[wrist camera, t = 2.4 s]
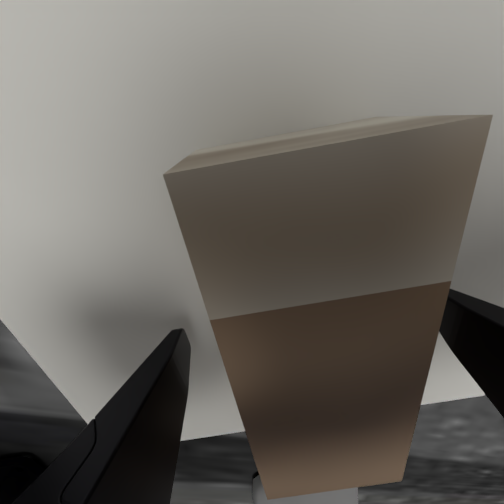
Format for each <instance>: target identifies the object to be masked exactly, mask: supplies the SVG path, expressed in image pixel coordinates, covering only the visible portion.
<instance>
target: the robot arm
mask: <svg viewBox="0 0 504 504" xmlns="http://www.w3.org/2000/svg"><path fill="white" fill-rule="evenodd" d="M439 332H440V334H441V335H442V337H443V339H444V340H445V342H446V343H447V345H448V346H449V348H450V349H451V351H452V352H453V353H454V355H455V356H456V357H457V359H458V360H459V361H460V363H461V364H462V365H463V366H464V368H465V369H466V370H467V372H468V373H469V374H470V375H471V377H472V378H473V379H474V380H475V382H476V383H477V384H478V386H479V387H480V388H481V389H482V391H483V392H484V393H485V395H486V396H487V397H488V398H489V400H490V401H491V402H492V403H493V405H494V406H495V407H496V409H497V410H498V411H499V412H500V414H501V415H502V416H503V417H504V308H503V307H500V306H497V305H494V304H492V303H489V302H486V301H483V300H481V299H478V298H475V297H472V296H470V295H467V294H464V293H461V292H459V291H456V290H453V289H449V293H448V297H447V301H446V305H445V309H444V313H443V317H442V321H441V325H440V329H439ZM190 358H191V345H190V342H189V339H188V337H187V334H186V332H185V330H184V329H183V328H179V329H173V330H171V331H170V332H169V333H168V335H167V336H166V337H165V338H164V339H163V340H162V341H161V343H160V344H159V345H158V346H157V347H156V348H155V349H154V350H153V352H152V353H151V354H150V355H149V356H148V357H147V358H146V359H145V361H144V362H143V363H142V364H141V365H140V366H139V367H138V368H137V370H136V371H135V372H134V373H133V374H132V375H131V376H130V377H129V379H128V380H127V381H126V382H125V383H124V384H123V385H122V386H121V388H120V389H119V390H118V391H117V392H116V393H115V394H114V395H113V397H112V398H111V399H110V400H109V401H108V402H107V403H106V405H105V406H104V407H103V408H102V409H101V410H100V411H99V412H98V414H97V415H96V416H95V419H92V420H91V421H90V422H89V424H88V425H87V426H86V427H85V428H84V429H83V430H82V431H81V433H80V434H79V435H78V436H77V437H76V438H75V439H74V440H73V441H72V442H71V443H70V445H69V446H68V447H67V448H66V449H65V450H64V451H63V452H62V453H61V454H60V455H59V456H58V457H57V458H56V459H55V460H54V461H53V462H52V463H51V464H50V465H49V466H48V467H47V468H46V470H44V469H43V468H42V467H41V466H40V465H38V464H37V463H36V462H35V461H34V460H33V459H31V458H28V457H24V456H21V457H13V458H6V459H0V504H170V499H171V493H172V487H173V481H174V475H175V469H176V463H177V458H178V452H179V446H180V440H181V434H182V428H183V422H184V416H185V410H186V404H187V398H188V390H189V375H190Z"/></svg>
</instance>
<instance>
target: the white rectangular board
mask: <svg viewBox="0 0 504 504" xmlns="http://www.w3.org/2000/svg"><path fill="white" fill-rule="evenodd" d="M444 115H493V117H492V121H491V125H490V129H489V133H488V137H487V141H486V145H485V149H484V153H483V157H482V161H481V165H480V169H479V173H478V177H477V181H476V185H475V189H474V193H473V197H472V201H471V205H470V209H469V213H468V217H467V221H466V225H465V229H464V233H463V237H462V241H461V245H460V249H459V253H458V257H457V261H456V265H455V269H454V273H453V277H452V281H451V285H450V289H453V290H456V291H459V292H461V293H464V294H467V295H470V296H472V297H475V298H478V299H481V300H483V301H486V302H489V303H492V304H494V305H497V306H500V307H503V308H504V0H0V319H1V321H2V322H3V323H4V324H5V325H6V327H7V328H8V329H9V330H10V331H11V333H12V334H13V335H14V336H15V337H16V339H17V340H18V341H19V342H20V343H21V345H22V346H23V347H24V348H25V349H26V351H27V352H28V353H29V354H30V355H31V357H32V358H33V359H34V360H35V361H36V363H37V364H38V365H39V366H40V367H41V369H42V370H43V371H44V372H45V373H46V375H47V376H48V377H49V378H50V379H51V381H52V382H53V383H54V384H55V385H56V387H57V388H58V389H59V390H60V391H61V393H62V394H63V395H64V396H65V397H66V399H67V400H68V401H69V402H70V403H71V405H72V406H73V407H74V408H75V409H76V411H77V412H78V413H79V414H80V415H81V417H82V418H83V419H84V420H85V421H86V423H87V424H89V422H90V421H91V420H92V419H95V416H96V415H97V414H98V412H99V411H100V410H101V409H102V408H103V407H104V406H105V405H106V403H107V402H108V401H109V400H110V399H111V398H112V397H113V395H114V394H115V393H116V392H117V391H118V390H119V389H120V388H121V386H122V385H123V384H124V383H125V382H126V381H127V380H128V379H129V377H130V376H131V375H132V374H133V373H134V372H135V371H136V370H137V368H138V367H139V366H140V365H141V364H142V363H143V362H144V361H145V359H146V358H147V357H148V356H149V355H150V354H151V353H152V352H153V350H154V349H155V348H156V347H157V346H158V345H159V344H160V343H161V341H162V340H163V339H164V338H165V337H166V336H167V335H168V333H169V332H170V331H171V330H173V329H179V328H183V329H184V330H185V332H186V334H187V337H188V339H189V342H190V345H191V358H190V375H189V390H188V398H187V404H186V410H185V416H184V422H183V428H182V434H181V440H180V441H183V440H190V439H197V438H203V437H210V436H217V435H224V434H230V433H237V432H244V431H245V429H244V426H243V423H242V419H241V416H240V413H239V410H238V407H237V404H236V401H235V398H234V395H233V391H232V388H231V385H230V382H229V379H228V376H227V373H226V370H225V367H224V364H223V360H222V357H221V354H220V351H219V348H218V345H217V342H216V339H215V336H214V332H213V329H212V326H211V323H210V320H209V317H208V314H207V311H206V308H205V304H204V301H203V298H202V295H201V292H200V289H199V286H198V283H197V280H196V276H195V273H194V270H193V267H192V264H191V261H190V258H189V255H188V252H187V248H186V245H185V242H184V239H183V236H182V233H181V230H180V227H179V224H178V220H177V217H176V214H175V211H174V208H173V205H172V202H171V199H170V196H169V192H168V189H167V186H166V183H165V180H164V177H163V174H164V173H165V172H167V171H168V170H169V169H171V168H172V167H173V166H175V165H176V164H177V163H179V162H180V161H181V160H183V159H184V158H186V157H187V156H188V155H190V154H191V153H192V152H194V151H195V150H198V149H204V148H209V147H215V146H220V145H226V144H231V143H237V142H242V141H247V140H253V139H258V138H264V137H269V136H275V135H280V134H286V133H291V132H297V131H302V130H307V129H313V128H318V127H324V126H329V125H335V124H340V123H346V122H351V121H357V120H362V119H367V118H373V117H390V116H444ZM484 395H485V393H484V392H483V391H482V389H481V388H480V387H479V386H478V384H477V383H476V382H475V380H474V379H473V378H472V377H471V375H470V374H469V373H468V372H467V370H466V369H465V368H464V366H463V365H462V364H461V363H460V361H459V360H458V359H457V357H456V356H455V355H454V353H453V352H452V351H451V349H450V348H449V346H448V345H447V343H446V342H445V340H444V339H443V337H442V335H441V334H440V332H439V333H438V337H437V341H436V345H435V349H434V353H433V357H432V361H431V365H430V369H429V373H428V377H427V381H426V386H425V390H424V394H423V398H422V402H421V405H424V404H431V403H438V402H444V401H451V400H458V399H464V398H471V397H478V396H484Z"/></svg>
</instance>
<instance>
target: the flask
mask: <svg viewBox="0 0 504 504" xmlns="http://www.w3.org/2000/svg"><path fill="white" fill-rule="evenodd" d="M252 499H253V503H254V504H358V487H356V488H349V489H342V490H334V491H327V492H320V493H313V494H306V495H299V496H292V497H285V498H278V499H271V500H267V497H266V494H265V491H264V488H263V485H262V482H261V479H260V475H258V476H257V477H255V478H254V479H253V490H252Z"/></svg>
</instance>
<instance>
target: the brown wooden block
mask: <svg viewBox="0 0 504 504" xmlns="http://www.w3.org/2000/svg"><path fill="white" fill-rule="evenodd" d="M492 117H493V115H444V116H390V117H373V118H367V119H362V120H357V121H351V122H346V123H340V124H335V125H329V126H324V127H318V128H313V129H307V130H302V131H297V132H291V133H286V134H280V135H275V136H269V137H264V138H258V139H253V140H247V141H242V142H237V143H231V144H226V145H220V146H215V147H209V148H204V149H198V150H195V151H194V152H192V153H191V154H190V155H188V156H187V157H186V158H184V159H183V160H181V161H180V162H179V163H177V164H176V165H175V166H173V167H172V168H171V169H169V170H168V171H167V172H165V173H164V174H163V177H164V180H165V183H166V186H167V189H168V192H169V196H170V199H171V202H172V205H173V208H174V211H175V214H176V217H177V220H178V224H179V227H180V230H181V233H182V236H183V239H184V242H185V245H186V248H187V252H188V255H189V258H190V261H191V264H192V267H193V270H194V273H195V276H196V280H197V283H198V286H199V289H200V292H201V295H202V298H203V301H204V304H205V308H206V311H207V314H208V317H209V320H210V323H211V326H212V329H213V332H214V336H215V339H216V342H217V345H218V348H219V351H220V354H221V357H222V360H223V364H224V367H225V370H226V373H227V376H228V379H229V382H230V385H231V388H232V391H233V395H234V398H235V401H236V404H237V407H238V410H239V413H240V416H241V419H242V423H243V426H244V429H245V432H246V435H247V438H248V441H249V444H250V447H251V451H252V454H253V457H254V460H255V463H256V466H257V469H258V472H259V475H260V479H261V482H262V485H263V488H264V491H265V494H266V497H267V500H271V499H278V498H285V497H292V496H299V495H306V494H313V493H320V492H327V491H334V490H342V489H349V488H356V487H363V486H370V485H377V484H384V483H391V482H398V481H402V478H403V474H404V470H405V466H406V462H407V458H408V454H409V450H410V446H411V442H412V438H413V434H414V430H415V426H416V422H417V418H418V414H419V410H420V406H421V402H422V398H423V394H424V390H425V386H426V381H427V377H428V373H429V369H430V365H431V361H432V357H433V353H434V349H435V345H436V341H437V337H438V333H439V329H440V325H441V321H442V317H443V313H444V309H445V305H446V301H447V297H448V293H449V289H450V285H451V281H452V277H453V273H454V269H455V265H456V261H457V257H458V253H459V249H460V245H461V241H462V237H463V233H464V229H465V225H466V221H467V217H468V213H469V209H470V205H471V201H472V197H473V193H474V189H475V185H476V181H477V177H478V173H479V169H480V165H481V161H482V157H483V153H484V149H485V145H486V141H487V137H488V133H489V129H490V125H491V121H492Z"/></svg>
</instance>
